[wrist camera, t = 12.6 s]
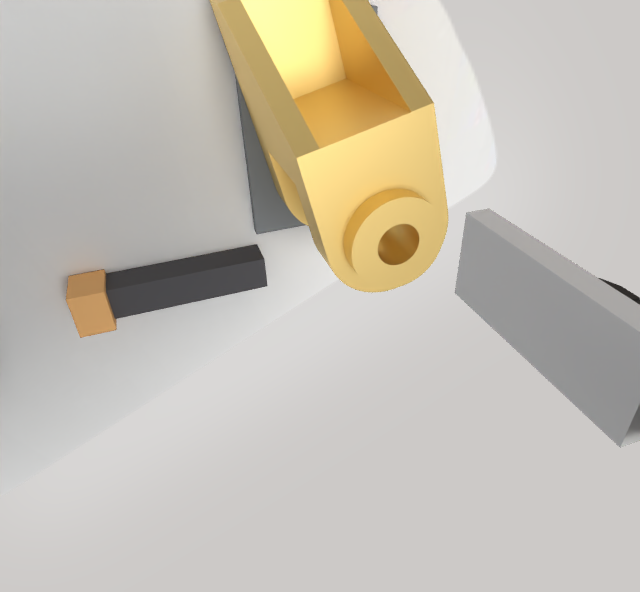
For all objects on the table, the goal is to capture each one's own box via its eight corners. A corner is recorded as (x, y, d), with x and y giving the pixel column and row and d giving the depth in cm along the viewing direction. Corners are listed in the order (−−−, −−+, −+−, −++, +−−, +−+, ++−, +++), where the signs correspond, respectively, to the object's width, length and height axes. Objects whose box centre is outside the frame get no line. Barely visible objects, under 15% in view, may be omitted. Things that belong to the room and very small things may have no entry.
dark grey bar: (82, 312, 48) (80, 337, 45) (68, 276, 46) (65, 299, 43) (260, 275, 52) (270, 295, 49) (256, 240, 50) (266, 259, 47)
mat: (255, 230, 50) (257, 234, 49) (228, 18, 40) (230, 18, 39) (371, 208, 53) (374, 211, 52) (373, 5, 42) (377, 6, 42)
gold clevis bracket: (376, 193, 51) (465, 272, 38) (290, 229, 50) (351, 322, 37) (325, -42, 39) (429, -40, 26) (209, 0, 38) (259, 22, 25)
